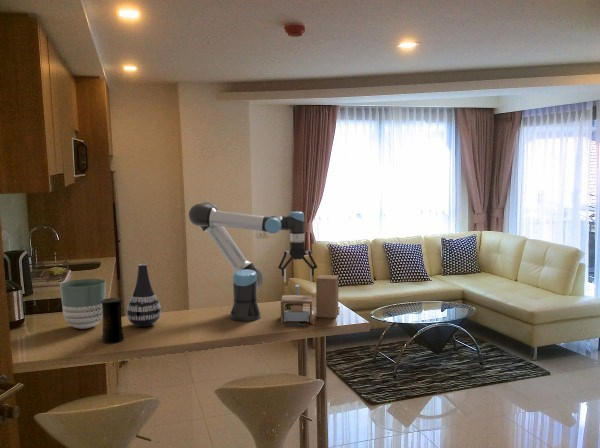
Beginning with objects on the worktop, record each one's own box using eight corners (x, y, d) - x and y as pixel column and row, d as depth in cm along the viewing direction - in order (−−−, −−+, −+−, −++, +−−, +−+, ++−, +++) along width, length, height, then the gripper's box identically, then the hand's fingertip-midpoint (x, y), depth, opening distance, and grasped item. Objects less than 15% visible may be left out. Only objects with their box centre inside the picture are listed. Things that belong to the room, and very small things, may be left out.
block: (302, 320, 255) (302, 305, 254) (290, 320, 255) (290, 305, 254) (302, 317, 261) (302, 302, 260) (291, 317, 261) (290, 302, 260)
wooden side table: (311, 322, 250) (311, 301, 249) (280, 322, 250) (280, 301, 250) (311, 315, 264) (311, 295, 263) (282, 315, 264) (282, 295, 264)
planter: (116, 323, 251) (114, 280, 249) (87, 335, 232) (85, 288, 230) (83, 320, 257) (81, 277, 255) (52, 331, 238) (50, 285, 237)
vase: (168, 323, 251) (166, 263, 248) (146, 332, 236) (143, 268, 234) (143, 319, 257) (141, 261, 255) (119, 328, 243) (117, 266, 241)
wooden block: (335, 318, 258) (335, 278, 256) (316, 317, 260) (316, 278, 258) (338, 313, 268) (338, 275, 266) (319, 312, 270) (319, 274, 268)
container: (105, 337, 228) (103, 297, 226) (125, 337, 229) (124, 297, 227) (98, 344, 219) (97, 302, 218) (120, 343, 220) (119, 301, 218)
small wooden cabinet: (308, 321, 251) (308, 294, 250) (284, 321, 251) (283, 294, 250) (308, 310, 274) (308, 284, 272) (286, 310, 274) (286, 284, 273)
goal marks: (313, 314, 265) (313, 314, 265) (280, 314, 265) (280, 314, 265) (313, 310, 273) (313, 310, 273) (281, 310, 273) (281, 310, 273)
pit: (306, 326, 244) (306, 326, 244) (285, 326, 244) (285, 326, 244) (306, 323, 249) (306, 323, 249) (286, 323, 249) (286, 323, 249)
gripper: (272, 242, 265) (273, 283, 266) (321, 242, 264) (322, 282, 266) (273, 241, 272) (274, 280, 274) (321, 240, 272) (321, 280, 273)
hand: (298, 281), depth 270 cm, fingers open, 13 cm apart
